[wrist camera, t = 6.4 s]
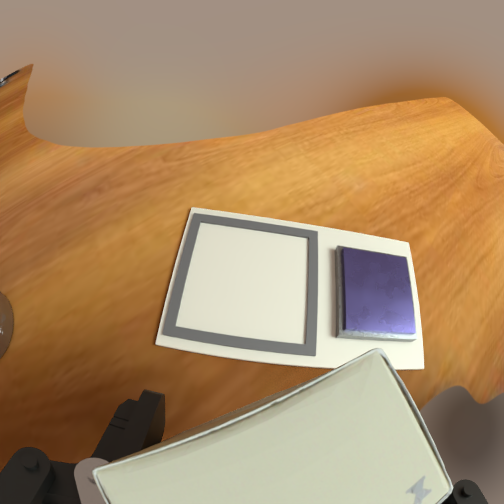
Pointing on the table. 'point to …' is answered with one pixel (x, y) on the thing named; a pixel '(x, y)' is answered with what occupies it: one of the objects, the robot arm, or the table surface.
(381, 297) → the ink pad
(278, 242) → the marked board
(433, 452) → the skincare box
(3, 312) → the robot arm
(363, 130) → the table surface
